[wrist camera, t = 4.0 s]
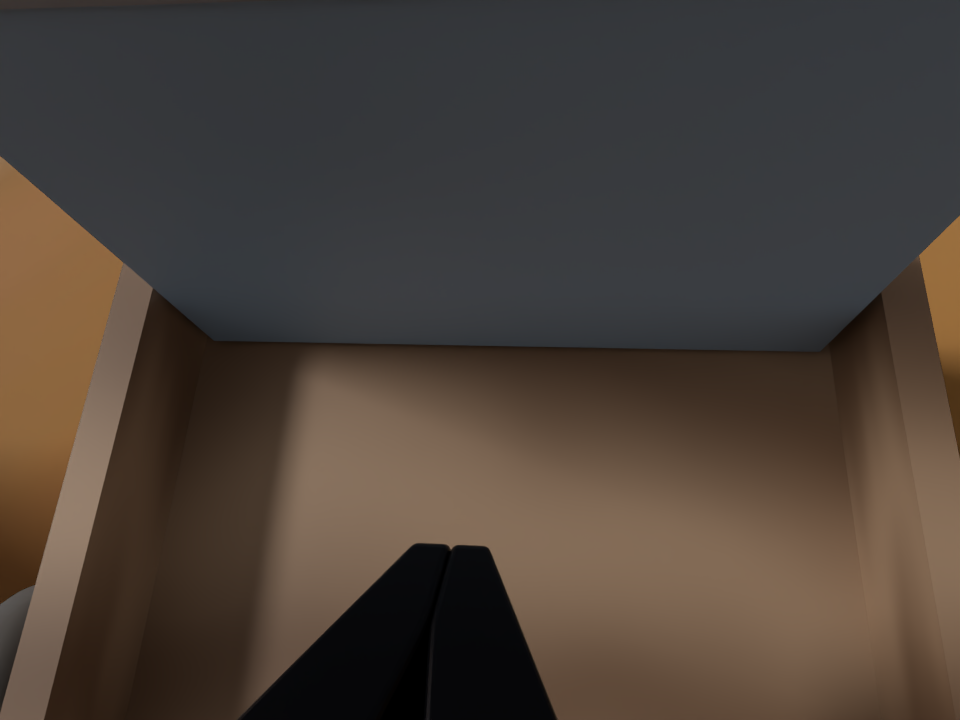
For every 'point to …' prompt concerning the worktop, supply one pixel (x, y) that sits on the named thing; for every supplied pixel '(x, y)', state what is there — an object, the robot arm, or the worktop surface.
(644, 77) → the tailgate
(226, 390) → the tray
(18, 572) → the worktop surface
